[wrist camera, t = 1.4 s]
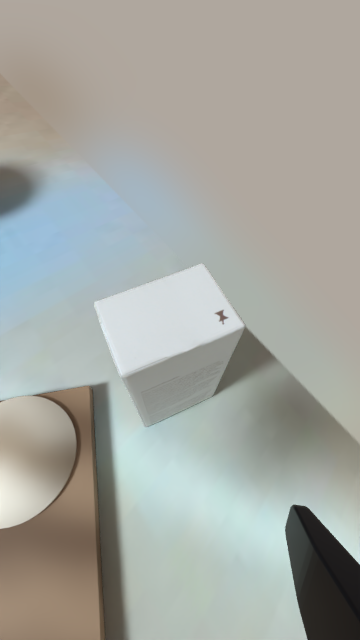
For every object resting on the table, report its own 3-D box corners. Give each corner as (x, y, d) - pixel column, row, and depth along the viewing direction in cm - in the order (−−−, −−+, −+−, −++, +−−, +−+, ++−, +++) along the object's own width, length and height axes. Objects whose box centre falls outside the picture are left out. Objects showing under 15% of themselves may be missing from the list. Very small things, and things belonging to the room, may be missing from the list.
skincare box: (190, 352, 25) (206, 259, 15) (213, 397, 23) (251, 326, 13) (123, 380, 24) (89, 298, 13) (143, 430, 22) (121, 381, 11)
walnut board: (110, 738, 14) (104, 763, 13) (-136, 820, 13) (-169, 857, 12) (92, 390, 23) (88, 384, 22) (-57, 416, 22) (-71, 412, 20)
